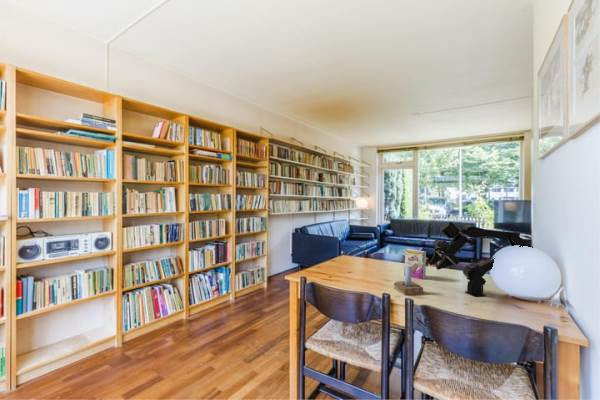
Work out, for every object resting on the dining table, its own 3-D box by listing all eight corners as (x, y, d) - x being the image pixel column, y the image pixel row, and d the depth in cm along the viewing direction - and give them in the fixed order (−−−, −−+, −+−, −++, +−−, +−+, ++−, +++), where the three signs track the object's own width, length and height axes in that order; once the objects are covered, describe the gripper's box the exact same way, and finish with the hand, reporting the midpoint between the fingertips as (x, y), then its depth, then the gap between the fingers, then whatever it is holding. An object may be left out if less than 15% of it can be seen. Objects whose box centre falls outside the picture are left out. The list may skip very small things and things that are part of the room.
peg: (407, 290, 145) (407, 265, 145) (412, 292, 142) (412, 266, 142) (403, 291, 143) (403, 266, 143) (408, 293, 141) (408, 267, 141)
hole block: (411, 288, 149) (411, 281, 149) (423, 294, 139) (423, 287, 139) (394, 289, 147) (394, 282, 147) (405, 296, 137) (405, 288, 137)
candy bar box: (404, 276, 170) (404, 249, 170) (407, 274, 174) (407, 248, 174) (422, 280, 163) (423, 252, 162) (426, 278, 166) (426, 251, 166)
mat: (410, 281, 161) (410, 280, 161) (421, 286, 151) (421, 285, 151) (394, 282, 159) (394, 281, 159) (404, 287, 149) (404, 287, 149)
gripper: (436, 231, 150) (415, 251, 152) (452, 236, 132) (428, 259, 133) (451, 245, 150) (430, 266, 151) (470, 252, 131) (445, 276, 132)
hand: (433, 266), depth 142 cm, fingers open, 9 cm apart
